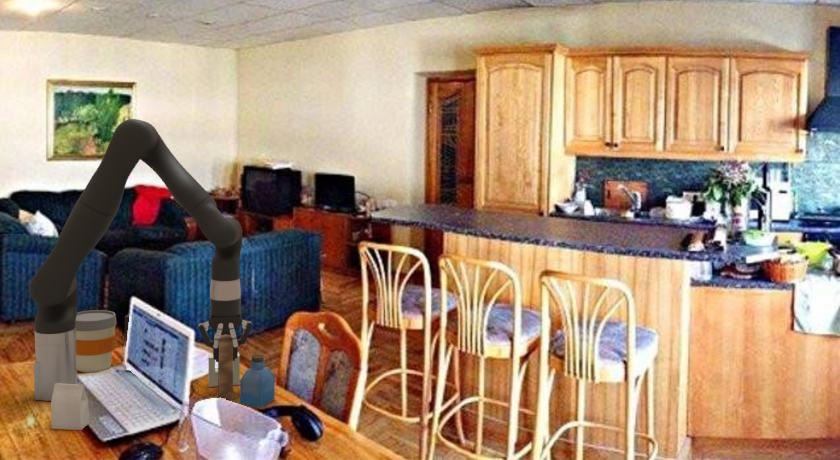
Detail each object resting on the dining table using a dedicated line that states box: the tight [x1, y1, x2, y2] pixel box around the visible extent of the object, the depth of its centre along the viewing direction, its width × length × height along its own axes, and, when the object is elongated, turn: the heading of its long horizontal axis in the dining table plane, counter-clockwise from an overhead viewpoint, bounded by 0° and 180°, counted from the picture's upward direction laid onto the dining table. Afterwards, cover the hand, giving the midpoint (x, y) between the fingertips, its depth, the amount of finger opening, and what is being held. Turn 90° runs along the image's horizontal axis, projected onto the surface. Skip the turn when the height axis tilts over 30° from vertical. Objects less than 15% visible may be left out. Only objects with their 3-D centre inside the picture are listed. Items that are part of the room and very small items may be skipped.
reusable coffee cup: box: [75, 309, 118, 373], centre depth 204 cm, size 13×13×15 cm
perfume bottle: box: [239, 353, 276, 408], centre depth 184 cm, size 6×6×12 cm
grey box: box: [50, 383, 90, 431], centre depth 165 cm, size 4×7×10 cm, turn 88°
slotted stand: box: [207, 351, 241, 388], centre depth 196 cm, size 8×3×8 cm, turn 108°
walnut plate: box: [217, 334, 234, 400], centre depth 188 cm, size 3×8×15 cm, turn 18°
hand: (225, 360), depth 187 cm, fingers closed on walnut plate, 3 cm apart
